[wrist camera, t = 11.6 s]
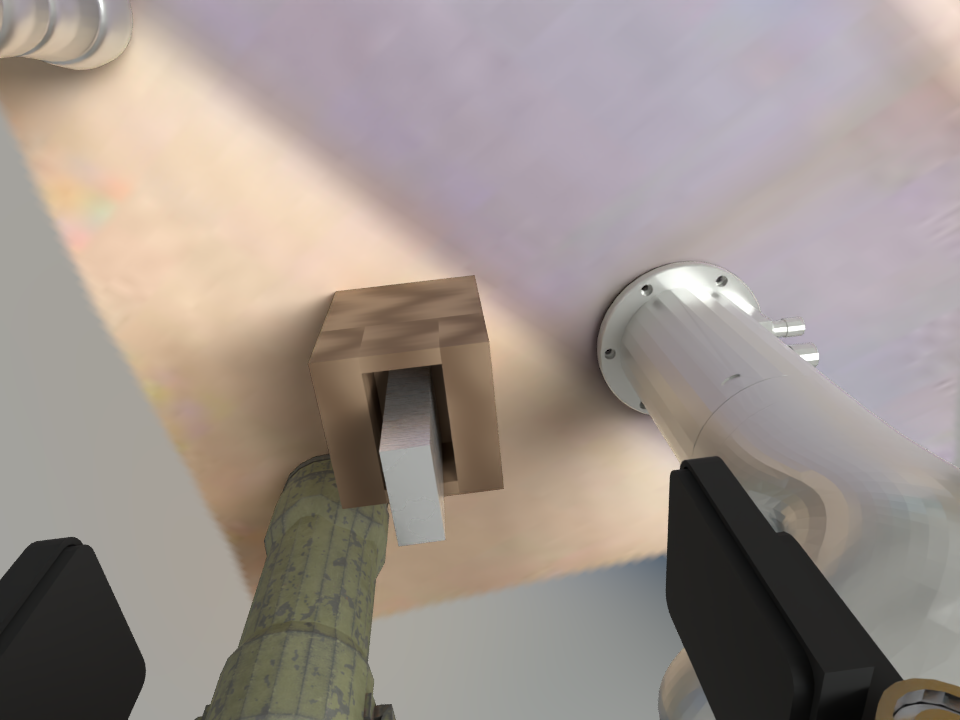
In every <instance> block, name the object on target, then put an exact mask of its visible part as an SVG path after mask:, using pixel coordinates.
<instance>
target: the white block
mask: <svg viewBox="0 0 960 720" xmlns="http://www.w3.org/2000/svg"><path fill="white" fill-rule="evenodd" d="M379 453H380V458H381V463H382V468H383V473H384V477H385V482H386V487H387V492H388V497H389V502H390V507H391V511H392V516H393V521H394V526H395V531H396V536H397V540H398V545H399V546H405V545H412V544H420V543H427V542H435V541H442V540H445V514H444V488H443V462H442V438H441V432H440V425H439V419H438V412H437V406H436V400H435V393H434V387H433V380H432V374H431V367H430V365H429V366H421V367H412V368H404V369H396V370H389V375H388V383H387V392H386V400H385V408H384V416H383V425H382V433H381V441H380V449H379Z"/></svg>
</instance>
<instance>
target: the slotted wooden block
mask: <svg viewBox="0 0 960 720" xmlns="http://www.w3.org/2000/svg"><path fill="white" fill-rule="evenodd" d="M429 365H430V367H431V374H432V380H433V387H434V393H435V400H436V406H437V412H438V419H439V425H440V432H441V438H442V462H443V488H444V496H451V495H459V494H467V493H475V492H483V491H491V490H499V489H504V486H503V476H502V466H501V456H500V446H499V436H498V426H497V416H496V406H495V396H494V386H493V376H492V366H491V356H490V346H489V339H488V335H487V330H486V325H485V321H484V316H483V312H482V307H481V302H480V298H479V293H478V289H477V284H476V279H475V275H473V276H465V277H456V278H447V279H439V280H430V281H422V282H413V283H405V284H396V285H388V286H379V287H371V288H362V289H353V290H345V291H336V293H335V295H334V298H333V300H332V303H331V306H330V308H329V311H328V313H327V316H326V318H325V321H324V324H323V326H322V329H321V331H320V334H319V336H318V339H317V342H316V344H315V347H314V349H313V352H312V354H311V357H310V360H309V362H308V366H309V370H310V374H311V378H312V383H313V387H314V391H315V395H316V399H317V404H318V408H319V412H320V416H321V421H322V425H323V429H324V433H325V437H326V442H327V446H328V450H329V454H330V459H331V463H332V467H333V471H334V475H335V480H336V484H337V488H338V492H339V497H340V501H341V505H342V509H347V508H355V507H363V506H371V505H379V504H387V503H390V502H389V497H388V492H387V487H386V482H385V477H384V473H383V468H382V463H381V458H380V453H379V449H380V441H381V433H382V425H383V416H384V408H385V400H386V392H387V383H388V375H389V370H396V369H404V368H412V367H421V366H429Z"/></svg>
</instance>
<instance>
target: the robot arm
mask: <svg viewBox="0 0 960 720" xmlns="http://www.w3.org/2000/svg"><path fill="white" fill-rule="evenodd" d="M719 276H720V278H719V279H718V280H717V278H718V277H719ZM644 285H646V288H645V289H642V287H643V286H644ZM804 331H805V324H804V321H803V319H802V318H801V317H793V318H785V319H781V320H776V321H771V320H770V319H769V318H767V317H766V316H764V315H763V314H762V313H761V310H760V306H759V303H758V301H757V299H756V298H755V296H754V294H753V292H752V291H751V290H750V289H749V288H748V286H747V285H746V284H745V283H744V282H743V281H742V280H741V279H739V278H738V277H736V276H735V275H734V274H732V273H731V272H729V271H727V270H725V269H723V268H721V267H719V266H716V265H712V264H709V263H705V262H693V261H687V262H678V263H671V264H668V265H665V266H662V267H658V268H656V269H654V270H652V271H650V272H648V273H646V274H644V275H642V276H640V277H639V278H638V279H636V280H635V281H634V282H632V283H631V284H629V285H628V286H627V287H626V288H625V289H624V290H623V291H622V292H621V293H620V294H619V295H618V296H617V297H616V299H615V300H614V302H613V303H612V305H611V306H610V308H609V309H608V311H607V313H606V315H605V317H604V319H603V322H602V324H601V327H600V331H599V335H598V339H597V357H598V362H599V368H600V370H601V372H602V375H603V377H604V380H605V381H606V383H607V385H608V386H609V388H610V390H611V391H612V392H613V393H614V394H615V395H616V397H617V398H618V399H619V400H620V401H622V402H623V403H625V404H626V405H627V406H629V407H630V408H632V409H634V410H636V411H638V412H641V413H644V414H648V415H650V416H651V417H652V419H653V420H654V422H655V424H656V425H657V427H658V428H659V430H660V432H661V433H662V435H663V436H664V438H665V440H666V441H667V443H668V444H669V446H670V448H671V449H672V451H673V452H674V454H675V456H676V457H677V459H678V461H679V462H680V464H681V465H680V470H673V471H671V474H670V488H669V515H668V543H667V571H666V600H667V605H668V609H669V613H670V615H671V618H672V620H673V623H674V625H675V627H676V629H677V632H678V634H679V636H680V638H681V641H682V643H683V646H684V648H683V649H682V650H681V651H680V653H679V654H678V655H677V656H676V657H675V658H674V659H673V661H672V662H671V664H670V665H669V667H668V669H667V671H666V673H665V675H664V677H663V679H662V682H661V686H660V690H659V698H658V710H659V717H660V720H960V468H958V467H956V466H954V465H953V464H951V463H949V462H947V461H945V460H944V459H942V458H940V457H938V456H937V455H935V454H933V453H932V452H930V451H928V450H927V449H925V448H924V447H922V446H920V445H919V444H917V443H915V442H914V441H912V440H911V439H909V438H907V437H906V436H904V435H903V434H901V433H900V432H898V431H897V430H896V429H894V428H893V427H891V426H890V425H889V424H887V423H886V422H884V421H883V420H882V419H880V418H879V417H878V416H876V415H875V414H873V413H872V412H871V411H869V410H868V409H867V408H865V407H864V406H863V405H862V404H860V403H859V402H858V401H856V400H855V399H854V398H853V397H851V396H850V395H849V394H848V393H846V392H845V391H844V390H843V389H841V388H840V387H839V386H837V385H836V384H835V383H833V382H832V381H831V380H830V379H828V378H827V377H826V376H825V375H823V374H822V373H821V372H820V371H818V370H817V369H816V368H815V367H816V366H817V365H818V361H819V353H818V350H817V347H816V346H815V345H814V344H813V343H802V344H793V345H786V344H785V343H783V342H782V341H781V340H780V339H778V338H777V337H793V336H801V335H803V334H804ZM608 349H610V350H609V351H608V352H606V351H607V350H608ZM145 673H146V668H145V662H144V659H143V657H142V654H141V652H140V650H139V648H138V646H137V644H136V642H135V639H134V637H133V635H132V633H131V631H130V628H129V626H128V624H127V622H126V620H125V618H124V615H123V613H122V611H121V609H120V607H119V604H118V602H117V600H116V598H115V596H114V594H113V592H112V589H111V587H110V585H109V583H108V581H107V579H106V576H105V575H104V572H103V570H102V568H101V565H100V564H99V561H98V559H97V557H96V555H95V552H94V551H93V549H92V548H91V547H90V546H89V545H83V544H82V542H81V541H80V540H79V539H77V538H75V537H68V538H59V539H52V540H44V541H36V542H34V543H31V544H30V545H29V546H28V547H27V548H26V549H25V550H24V551H23V553H22V554H21V555H20V557H19V558H18V559H17V560H16V561H15V562H14V564H13V565H12V566H11V567H10V569H9V570H8V571H7V572H6V574H5V575H4V576H3V577H2V579H1V580H0V720H128V718H129V716H130V713H131V711H132V709H133V707H134V704H135V702H136V700H137V698H138V696H139V693H140V691H141V689H142V686H143V684H144V681H145V675H146V674H145Z"/></svg>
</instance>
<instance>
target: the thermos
mask: <svg viewBox="0 0 960 720" xmlns="http://www.w3.org/2000/svg"><path fill="white" fill-rule="evenodd" d="M387 507H388V503H387V504H379V505H371V506H363V507H355V508H347V509H342V505H341V501H340V497H339V492H338V488H337V484H336V480H335V475H334V471H333V467H332V463H331V459H330V454H329V455H323V456H318V457H314V458H312V459H310V460H308V461H306V462H304V463H302V464H300V465H299V466H298V467H297V468H296V469H295V470H294V471H293V472H292V473H291V474H290V476H289V478H288V480H287V482H286V484H285V487H284V489H283V492H282V494H281V496H280V498H279V500H278V502H277V505H276V507H275V510H274V513H273V516H272V519H271V522H270V525H269V528H268V531H267V534H266V537H265V540H264V543H265V549H266V554H267V558H266V561H265V565H264V568H263V571H262V574H261V577H260V580H259V583H258V586H257V590H256V593H255V596H254V599H253V602H252V605H251V608H250V611H249V615H248V618H247V621H246V624H245V628H244V630H243V634H242V636H241V640H240V643H239V646H238V649H237V650H236V651H235V652H234V653H233V654H232V655H231V656H230V657H229V658H228V659H227V661H226V664H225V666H224V668H223V670H222V672H221V674H220V677H219V680H218V683H217V686H216V689H215V692H214V695H213V698H212V701H211V704H210V705H206V707H205V710H204V713H203V716H202V717H198V718H196V719H195V720H396V719H395V715H394V711H393V708H392V704H387V705H386V704H385V705H377V706H376V704H375V701H374V698H373V687H374V679H373V676H372V673H371V670H370V667H369V665H368V654H369V645H370V634H371V624H372V614H373V604H374V593H375V583H376V578H377V576H378V574H379V572H380V570H381V569H382V567H383V565H384V563H385V554H386V544H387V533H388V521H389V513H388V510H387Z"/></svg>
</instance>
